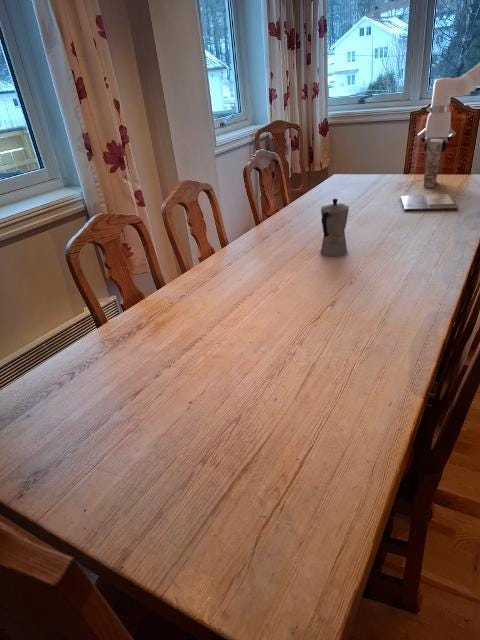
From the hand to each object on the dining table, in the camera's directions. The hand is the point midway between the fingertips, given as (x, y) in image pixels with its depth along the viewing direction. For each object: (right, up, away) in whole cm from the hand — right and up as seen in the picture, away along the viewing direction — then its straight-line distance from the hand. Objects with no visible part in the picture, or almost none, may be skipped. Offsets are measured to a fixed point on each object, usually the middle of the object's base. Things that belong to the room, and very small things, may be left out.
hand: (434, 151), depth 200 cm
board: (-11, -29, -18) cm, 36 cm away
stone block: (+1, -13, +8) cm, 15 cm away
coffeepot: (-59, -56, -54) cm, 98 cm away
